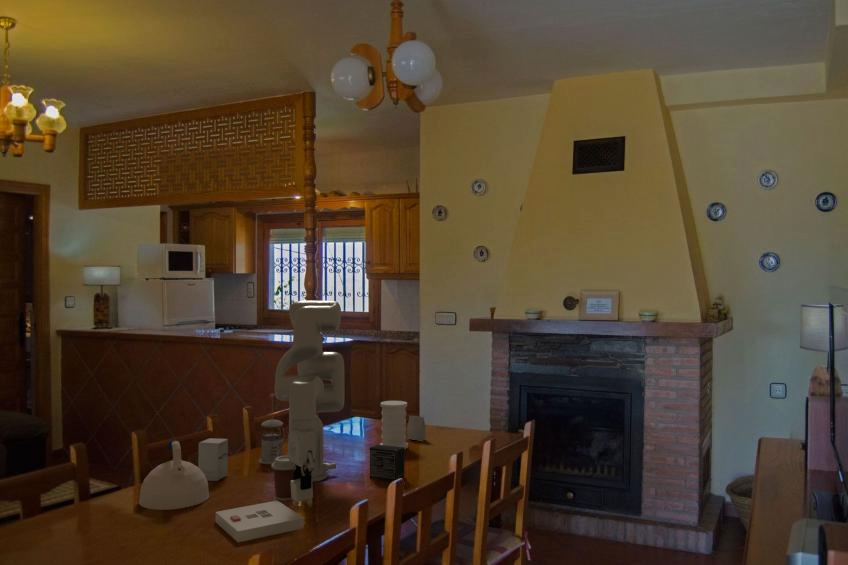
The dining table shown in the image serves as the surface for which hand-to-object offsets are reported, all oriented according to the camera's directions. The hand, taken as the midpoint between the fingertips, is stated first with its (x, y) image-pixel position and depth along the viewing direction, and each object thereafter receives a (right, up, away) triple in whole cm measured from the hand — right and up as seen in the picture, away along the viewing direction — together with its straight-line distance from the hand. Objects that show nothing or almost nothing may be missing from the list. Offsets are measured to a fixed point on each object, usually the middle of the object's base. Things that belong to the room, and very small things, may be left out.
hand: (302, 485), depth 197 cm
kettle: (-41, -8, +11) cm, 43 cm away
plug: (0, -6, 0) cm, 6 cm away
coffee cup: (-7, -8, +13) cm, 17 cm away
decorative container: (+23, -8, +79) cm, 82 cm away
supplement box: (-36, -8, +35) cm, 51 cm away
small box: (+23, -8, +35) cm, 42 cm away
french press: (-21, -8, +58) cm, 62 cm away
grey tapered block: (+32, -8, +92) cm, 98 cm away
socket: (-10, -7, -11) cm, 17 cm away
